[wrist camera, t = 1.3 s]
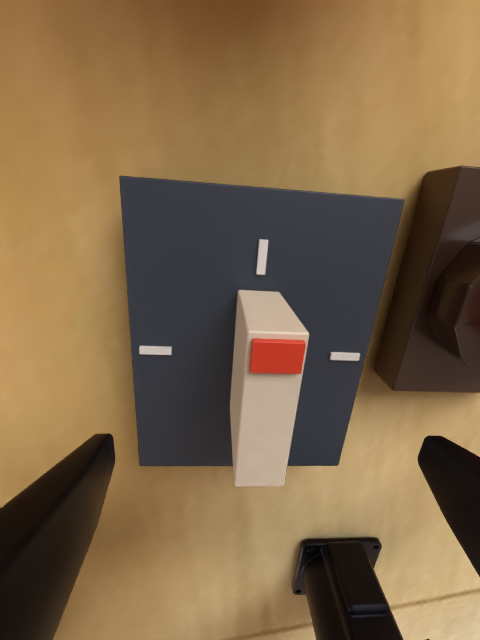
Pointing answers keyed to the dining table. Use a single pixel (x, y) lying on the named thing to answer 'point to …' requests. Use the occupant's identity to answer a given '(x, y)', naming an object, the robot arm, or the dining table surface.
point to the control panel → (221, 304)
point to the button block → (438, 291)
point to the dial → (264, 387)
